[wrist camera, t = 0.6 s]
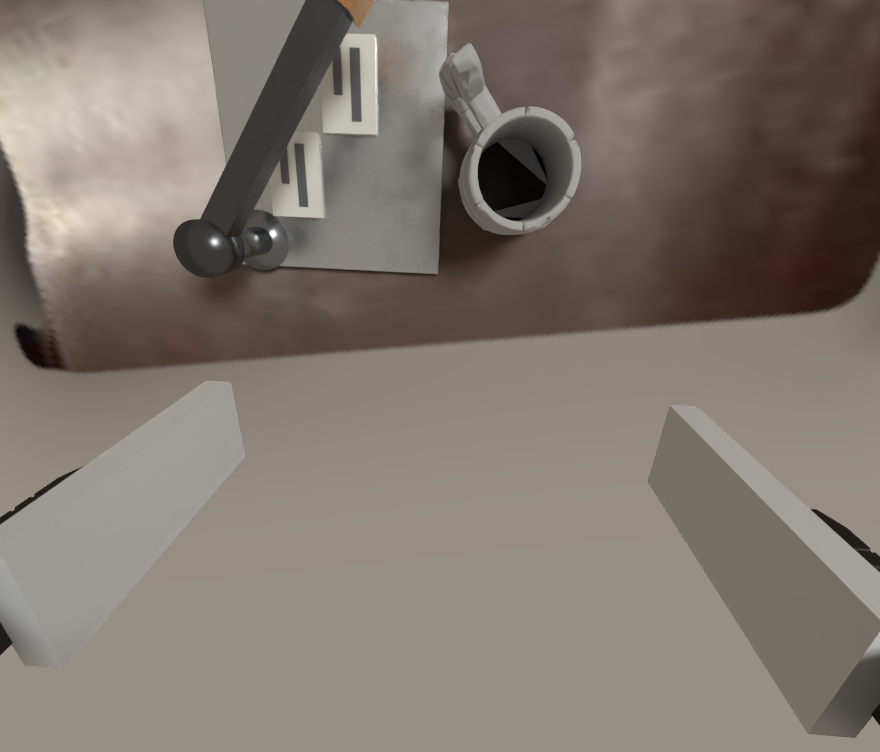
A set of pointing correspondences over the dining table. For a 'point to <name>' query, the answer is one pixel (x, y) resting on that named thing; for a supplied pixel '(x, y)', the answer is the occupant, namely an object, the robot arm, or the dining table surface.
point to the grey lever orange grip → (266, 136)
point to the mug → (509, 148)
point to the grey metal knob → (264, 241)
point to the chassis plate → (344, 155)
